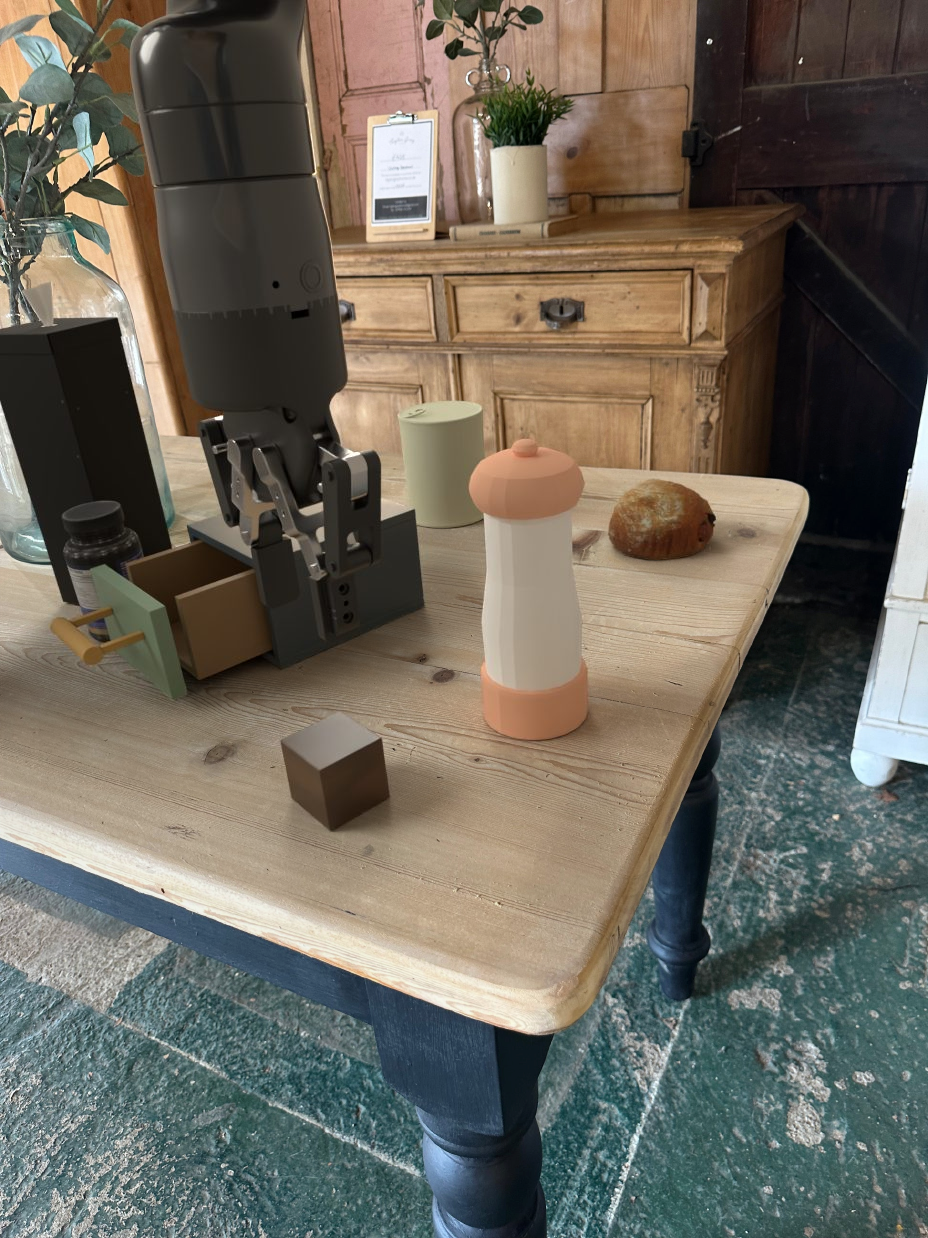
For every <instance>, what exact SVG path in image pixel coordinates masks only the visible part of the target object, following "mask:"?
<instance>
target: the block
mask: <svg viewBox="0 0 928 1238" xmlns="http://www.w3.org/2000/svg"><path fill="white" fill-rule="evenodd" d="M279 742H280V747H281V752H282V758H283V762H284V768H285V772H286V776H287V777H286V778H287V782H288V787H289V792H290V797H291V799H292V801H294V802H296V804H297V805H299V806H300V807H301V808H303V809H304V810H305V811H306V812H307V813H308V814H309V815H311V816H312V817H313V818H314V819H315V820H317V821H318V822H319V823H320V824H321V825H323V826H324V827H325V828H326V829H327V830H328V831H330V832H332V831H334V830H335V829H337V828H339V827H340V826H343V825H344V824H346V823H348V822H349V821H351V820H353V819H354V818H356V817H358V816H360V815H361V814H363V813H365V812H366V811H368V810H370V809H372V808H373V807H375V806H377V805H378V804H380V803H382V802H384V801H386V800H387V799H389V798H390V797H391V794H390V787H389V780H388V772H387V766H386V765H387V764H386V757H385V751H384V743H383V738H382V737H381V736H379V735H378V734H377V733H375V732H374V731H372V730H371V729H369V728H367V727H366V726H365V725H363V724H362V723H360V722H359V721H357V720H356V719H354V718H353V717H351V716H349V715H348V714H347V713H345V712H344V711H342V710H338V711H337V712H335V713H332V714H330V715H328V716H326V717H324V718H322V719H320V720H318V721H316V722H314V723H312V724H310V725H308V726H305V727H304V728H302V729H300V730H298V731H296V732H294V733H292V734H290V735H288V736H286V737H284V738H281V739H280V741H279Z"/></svg>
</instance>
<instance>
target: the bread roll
mask: <svg viewBox="0 0 928 1238" xmlns="http://www.w3.org/2000/svg"><path fill="white" fill-rule="evenodd" d="M713 511H714V510H713V509H712V507H711V506H710V503H709V500H707V499H705V498H703V496H701V495H700V493H699V492H696V491H695V490H693V489H691V488H689V487H687V486H685V485H683V484H682V483H678V482H673V481H671V480H663V479H658V478H648V479H644V480H642V481H640V482H637V483H636V484H634V485H632V486H631V487H629V488H628V489H627V490H625V491H624V492H623V494H622V495H620V497H619V499H618V501H617V502H616V503H615V505H614V507H613V511H612V515H611V517H610V519H609V523H608V529H607V530H608V533H607V536H608V540H609V541H610V542H611V544H612V546H613V548H614V549H615V550H616V551H617V552H619V553H620V554H622V555H624V556H627V557H631V558H632V557H633V558H636V559H643V560H650V561H651V560H654V561H658V560H669V559H670V560H671V559H679V558H685V557H689V556H692V555H694V554H695V555H696V554H697V553H699V552H702V551H703V550H704V549H705V548H706V547H707V545H708V544H709V543H710V542H711V540H712V537H713V534H714V528H715V527H716V524H715V522H716V520H717V516H716V515H715V513H714V512H713Z"/></svg>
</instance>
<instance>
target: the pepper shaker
mask: <svg viewBox="0 0 928 1238" xmlns="http://www.w3.org/2000/svg"><path fill="white" fill-rule="evenodd" d="M585 484H586V482H585V479H584V475H583V472H582V470H581V468H580V467H579V465H578V464H577V462H576V461H575V459H574V458H573V456H570V455H569V454H566V453H564V452H561V451H558V450H556V449H553V448H549V447H544V446H539V445H538V444H537V442H536V441H535V440H533V439H530V438H521V439H518V440H516V441H514V442H513V444H512V446H511V448H506V449H503V450H500V451H497V452H495V453H493V454H492V455H489V456H487V457H485V459H483V460H482V461H480V463H479V464H478V465H477V467H476V468H475V470H474V472H473V473H472V475H471V478H470V483H469V492H470V495H471V498H472V500H473V502H474V504H475V506H476V507H477V508H478V509H479V510H480V511H481V512H483V513H484V518H483V524H484V540H485V542H484V544H485V559H486V560H485V562H486V563H485V564H486V574H485V582H484V583H485V584H484V593H483V602H482V603H483V606H482V614H481V631H482V641H483V649H484V650H483V652H484V661H483V662H482V664H481V667H480V669H479V672H480V687H481V700H482V711H483V712H482V713H483V719H484V720H485V722H486V723H487V725H488V726H489V727H490V728H491V729H493V730H494V731H496V732H498V733H499V734H500V735H504V736H507V737H510V738H513V739H516V740H526V741H541V740H542V741H543V740H551V739H555V738H558V737H562V736H565V735H567V734H569V733H571V732H572V731H575V730H576V729H578V728H579V727H580V726H581V725H582V724H583V722H584V721H585V720H586V719H587V715H588V710H589V694H588V693H589V692H588V691H589V690H588V689H589V688H588V687H589V684H588V683H589V682H588V680H589V679H588V673H589V672H588V667H587V664H586V660H585V659H584V657H582V656H583V654H582V653H583V617H582V611H581V605H580V599H579V594H578V589H577V585H576V584H577V583H576V579H575V571H574V561H573V560H574V559H573V558H574V557H573V517H572V516H573V515H572V513H573V512H572V509H573V508H575V506H577V504H578V502H579V501H580V498H581V496H582V493H583V491H584V488H585Z"/></svg>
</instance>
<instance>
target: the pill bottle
mask: <svg viewBox="0 0 928 1238" xmlns="http://www.w3.org/2000/svg"><path fill="white" fill-rule="evenodd" d="M62 520H63V523H64V527H65V530H66V531H67V532H68V533H69V534H70V536H71V539H69V541H68V542H67V543H66V545H65V547H64V558H65V561H66V563H67V567H68V570H69V573H70V576H71V579H72V582H73V585H74V589H75V592H76V595H77V598H78V601H79V604H80V605H79V608H80V610H81V613H82V615H85V614H87V613H90V612H93V611H96V610H99V609H101V606H100V602H99V599H98V595H97V592H96V588H95V585H94V582H93V578H92V575H91V571H90V569H91V568H94V567H98V566H101V565H104V564H105V565H106V566H108V567H109V568H111V569H112V570H113V571H115V572H116V573H118V574H119V575H121V576H122V577H124V578H125V579H127V580H128V581H129V582H130V580H129V577H128V573H127V569H126V565H125V564H126V563H129V562H132V561H135V560H138V559H141V558H144V555H143V551H142V548H141V544H140V540H139V537H138V536H137V534H136V533H135V532H134V531H133V530H131V529H129V528H127V527H124V524H123V522H124V514H123V511H122V507H121V505H120V504H119V503H118V502H115V501H96V502H90V503H86V504H82V505H79V506H76V507H73V508H71V509H69V510H67V511H66V512H64V513H63V515H62ZM85 627H86V629H87V632H88V634H89V635H90V637H92V638H93V639H95V640H98V641H102V642H109V641H111V640H110V636H109V633H108V630H107V626H106V623H105V619H104V618H102V619H100V620H97V621H94V622H91V623H88V624H85Z"/></svg>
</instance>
